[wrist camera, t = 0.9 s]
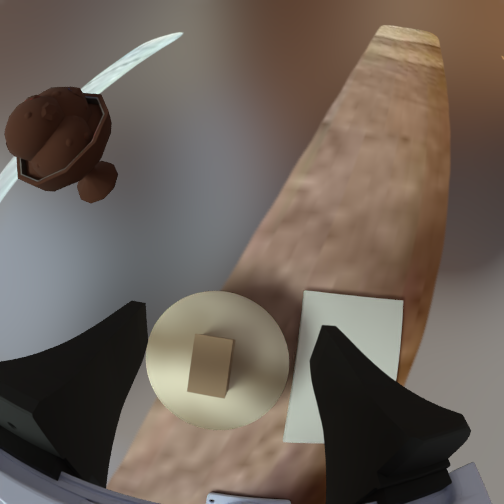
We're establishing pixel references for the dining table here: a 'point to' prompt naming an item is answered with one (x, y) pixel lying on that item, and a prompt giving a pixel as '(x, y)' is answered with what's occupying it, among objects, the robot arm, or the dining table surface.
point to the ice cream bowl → (62, 142)
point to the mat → (361, 335)
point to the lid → (217, 360)
